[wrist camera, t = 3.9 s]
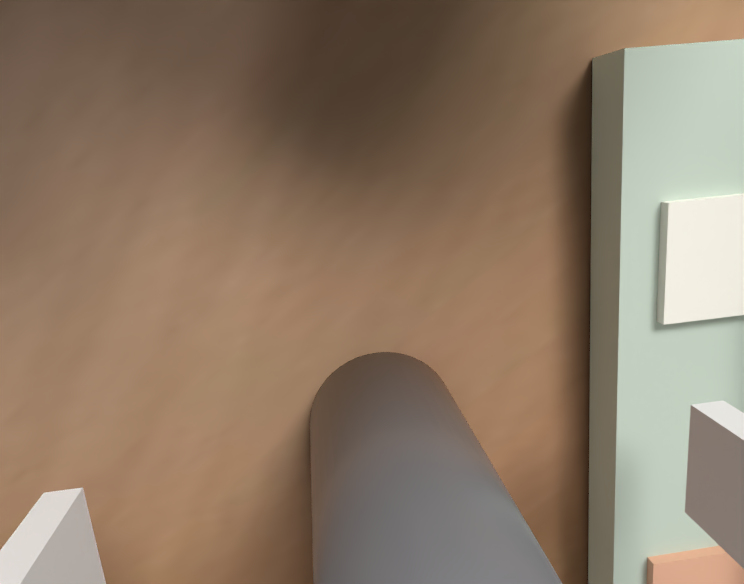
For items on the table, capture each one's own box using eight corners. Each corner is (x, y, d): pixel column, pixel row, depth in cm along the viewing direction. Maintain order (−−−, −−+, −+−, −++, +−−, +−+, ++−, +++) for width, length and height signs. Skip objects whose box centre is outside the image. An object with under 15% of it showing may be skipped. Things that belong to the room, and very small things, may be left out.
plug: (318, 493, 16) (351, 1313, 5) (301, 361, 15) (295, 1003, 4) (456, 474, 17) (791, 1196, 5) (448, 343, 16) (843, 882, 4)
